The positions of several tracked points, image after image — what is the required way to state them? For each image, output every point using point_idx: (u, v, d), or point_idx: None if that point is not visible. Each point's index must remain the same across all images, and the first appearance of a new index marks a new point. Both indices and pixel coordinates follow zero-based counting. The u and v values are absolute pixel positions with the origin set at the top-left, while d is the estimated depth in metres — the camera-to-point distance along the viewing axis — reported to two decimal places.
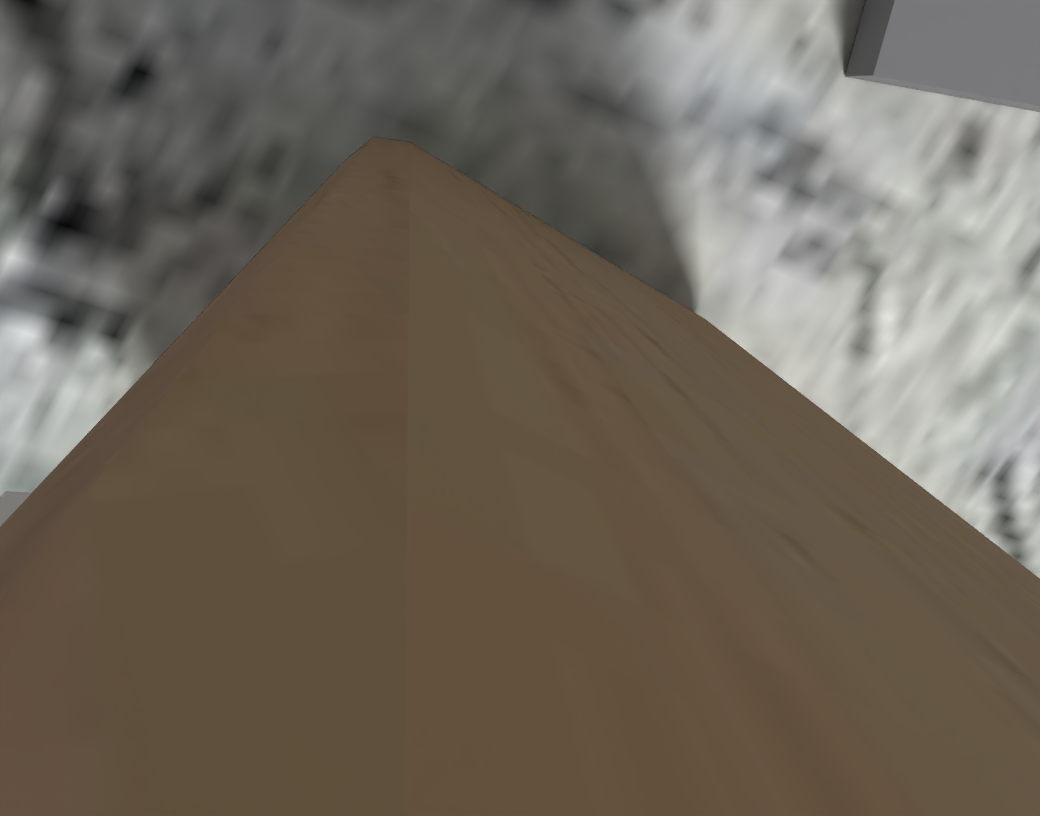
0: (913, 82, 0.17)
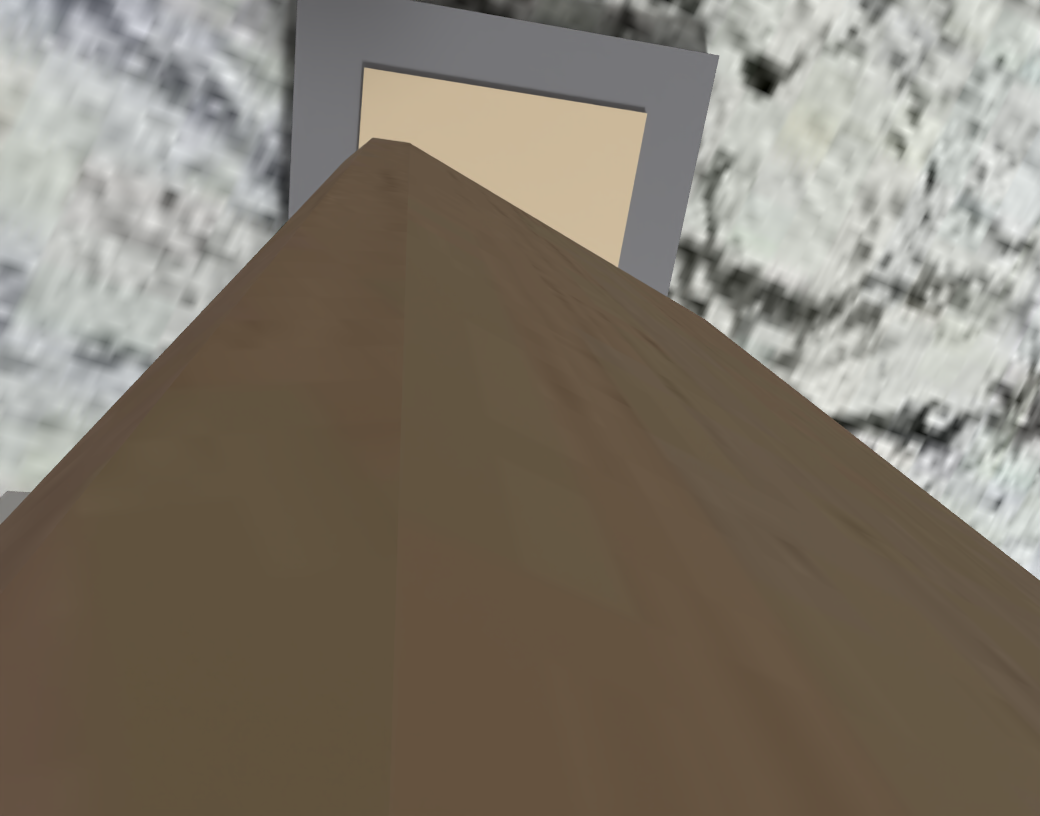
0: None
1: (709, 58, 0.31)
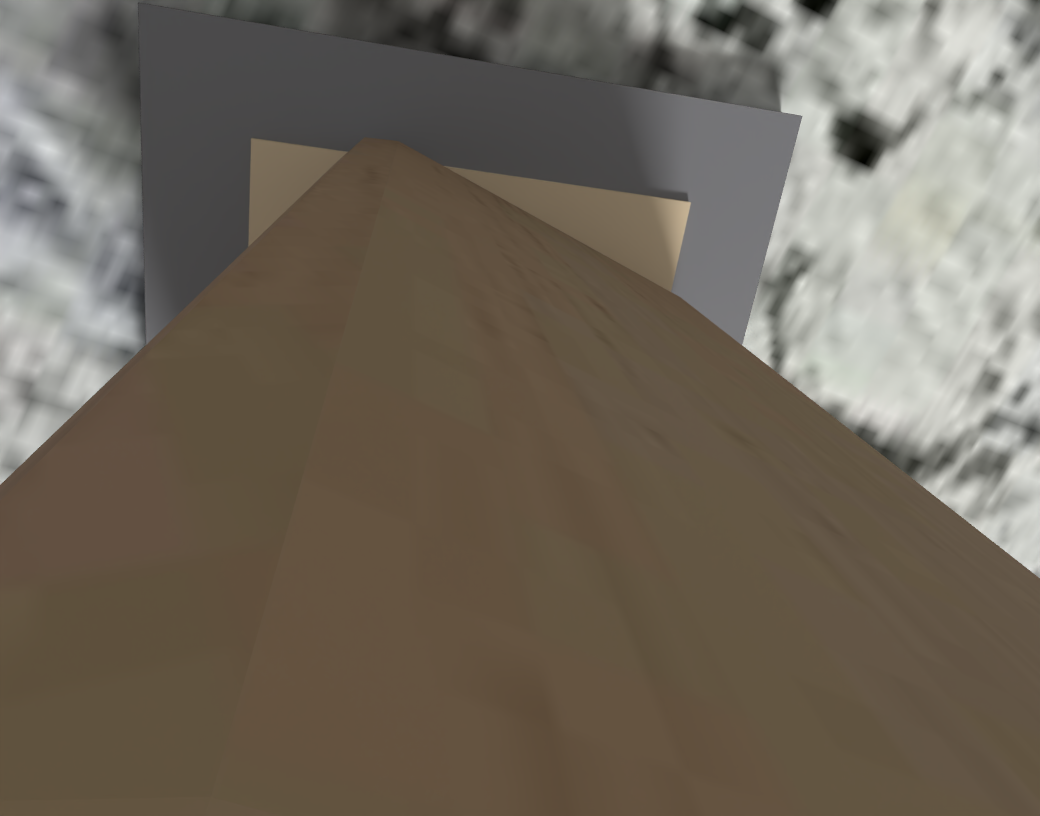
0: None
1: (787, 120, 0.20)
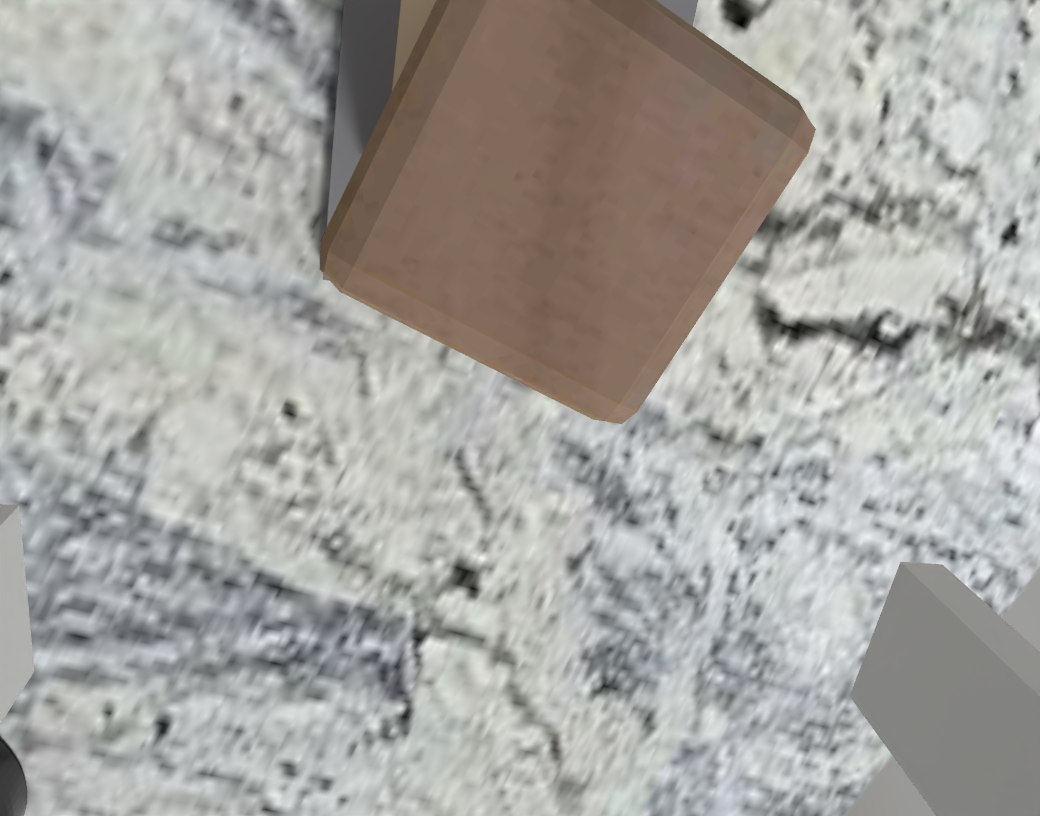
0: None
1: None
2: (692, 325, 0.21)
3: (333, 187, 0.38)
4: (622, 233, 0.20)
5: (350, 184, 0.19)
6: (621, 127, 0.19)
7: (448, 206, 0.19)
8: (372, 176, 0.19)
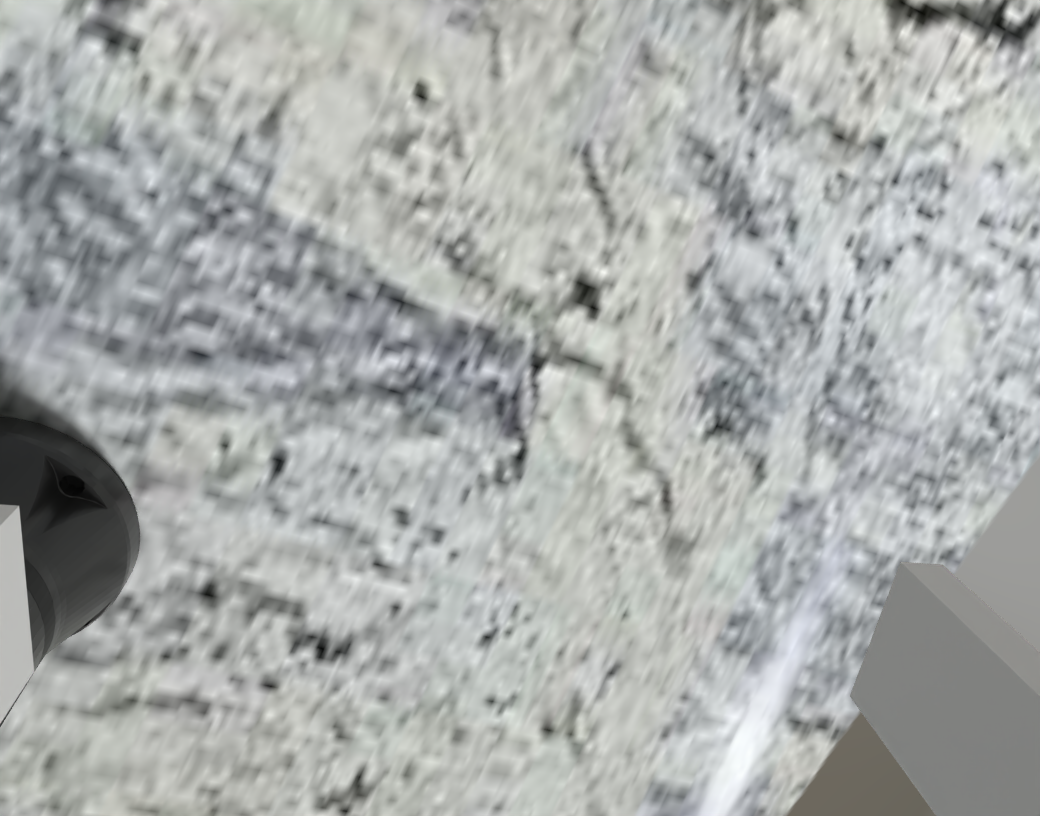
0: None
1: None
2: None
3: None
4: None
5: None
6: None
7: None
8: None
